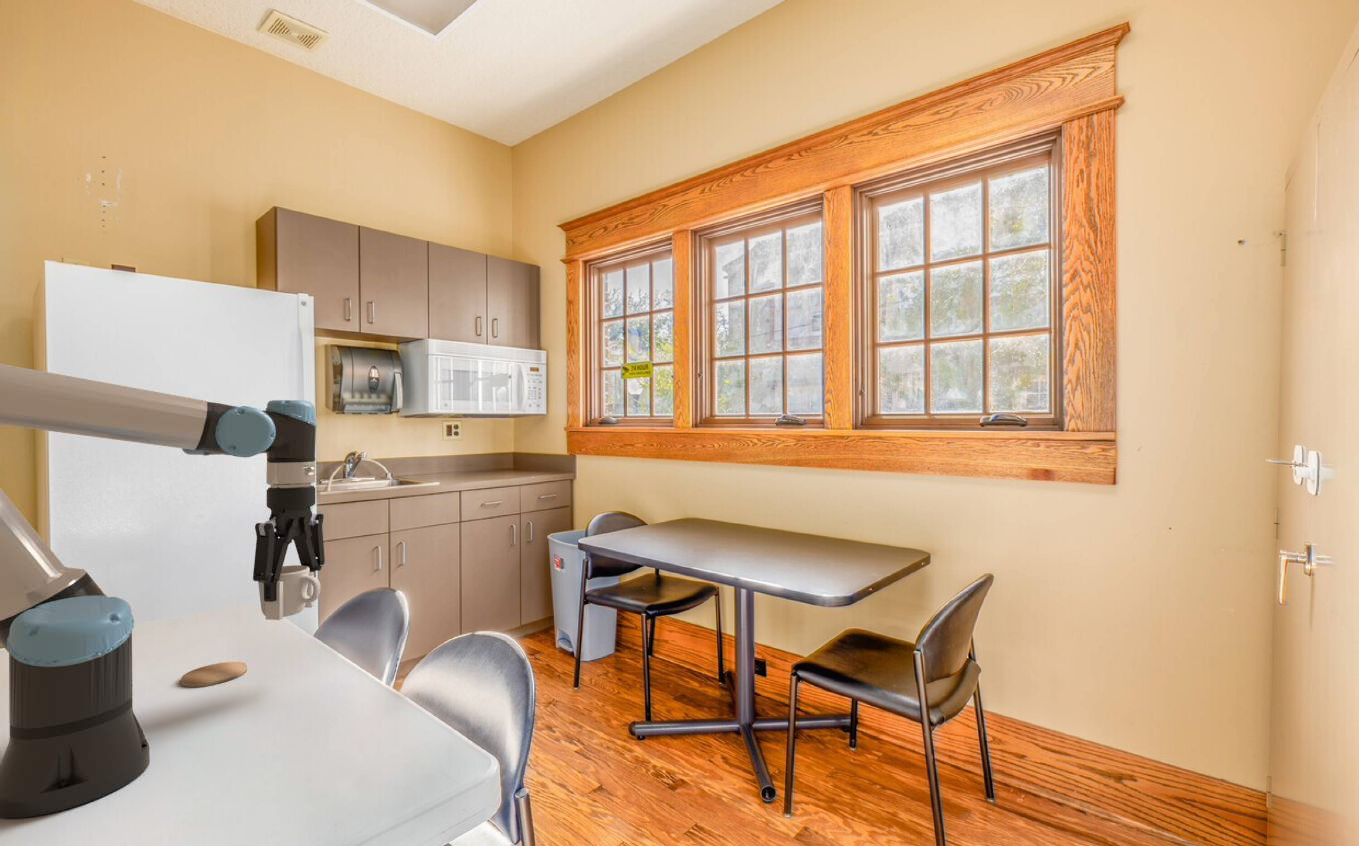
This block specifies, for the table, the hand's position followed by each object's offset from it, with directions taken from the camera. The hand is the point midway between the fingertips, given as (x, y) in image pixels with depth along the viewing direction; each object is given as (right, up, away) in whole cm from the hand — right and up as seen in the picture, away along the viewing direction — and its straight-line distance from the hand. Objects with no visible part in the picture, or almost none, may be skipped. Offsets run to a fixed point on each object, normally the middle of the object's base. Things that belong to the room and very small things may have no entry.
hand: (290, 612), depth 111 cm
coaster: (-18, -14, +6) cm, 23 cm away
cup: (0, -1, 0) cm, 1 cm away
